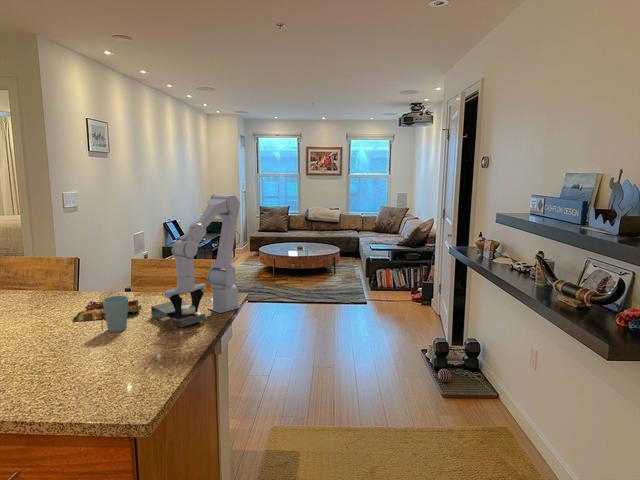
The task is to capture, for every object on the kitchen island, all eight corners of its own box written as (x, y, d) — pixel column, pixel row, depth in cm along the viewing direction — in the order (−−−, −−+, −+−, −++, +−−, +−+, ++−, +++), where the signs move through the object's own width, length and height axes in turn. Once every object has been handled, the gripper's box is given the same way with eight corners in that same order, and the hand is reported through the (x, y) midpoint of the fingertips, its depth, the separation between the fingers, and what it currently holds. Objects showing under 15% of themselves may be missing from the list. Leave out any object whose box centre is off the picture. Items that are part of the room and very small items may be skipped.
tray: (189, 314, 147) (189, 307, 147) (205, 320, 141) (204, 314, 141) (167, 320, 141) (166, 313, 141) (181, 327, 134) (181, 320, 134)
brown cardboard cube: (168, 327, 136) (167, 316, 136) (173, 330, 134) (172, 318, 134) (160, 330, 134) (159, 318, 134) (164, 332, 132) (163, 321, 132)
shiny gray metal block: (179, 310, 154) (179, 299, 154) (195, 317, 147) (195, 305, 147) (151, 317, 146) (151, 306, 146) (166, 325, 139) (166, 313, 138)
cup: (130, 331, 133) (127, 300, 132) (103, 334, 130) (101, 303, 128) (130, 323, 140) (128, 294, 138) (105, 326, 137) (103, 297, 135)
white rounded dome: (198, 311, 140) (198, 307, 140) (183, 315, 136) (183, 311, 136) (189, 308, 144) (189, 303, 143) (175, 311, 140) (175, 307, 139)
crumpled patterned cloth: (146, 304, 163) (145, 295, 163) (137, 320, 145) (137, 311, 145) (85, 308, 158) (84, 299, 157) (69, 325, 140) (68, 316, 139)
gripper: (198, 269, 146) (199, 306, 148) (159, 276, 135) (161, 315, 137) (209, 273, 141) (210, 310, 143) (170, 280, 130) (171, 320, 133)
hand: (187, 313), depth 140 cm, fingers closed on white rounded dome, 6 cm apart
